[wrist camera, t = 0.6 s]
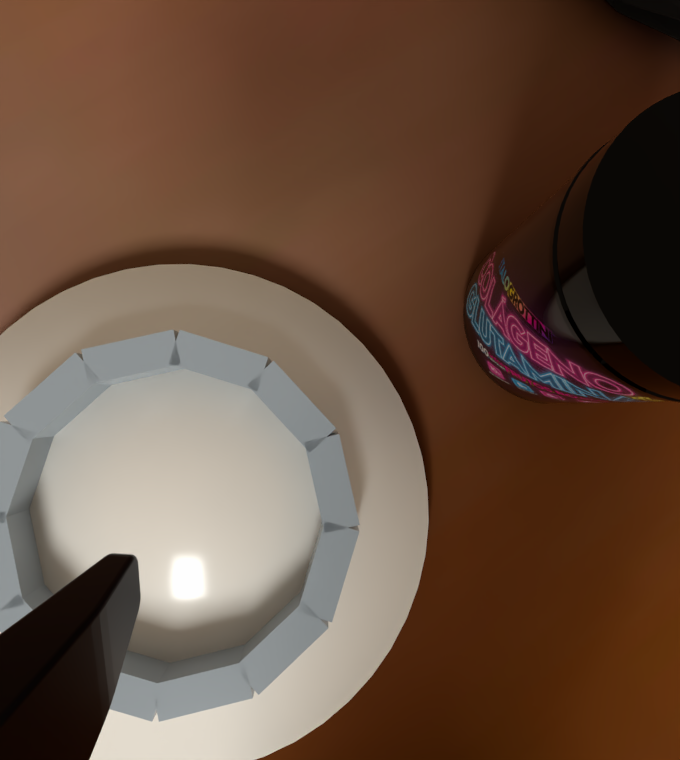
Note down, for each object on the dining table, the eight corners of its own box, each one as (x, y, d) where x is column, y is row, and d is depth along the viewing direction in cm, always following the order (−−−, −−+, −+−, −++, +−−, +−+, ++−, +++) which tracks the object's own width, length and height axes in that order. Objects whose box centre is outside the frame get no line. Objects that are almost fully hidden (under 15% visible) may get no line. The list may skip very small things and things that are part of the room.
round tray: (471, 689, 21) (492, 727, 19) (-11, 813, 20) (-57, 869, 18) (364, 226, 22) (370, 203, 20) (-106, 326, 21) (-162, 315, 19)
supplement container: (457, 230, 22) (580, 74, 12) (627, 235, 22) (894, 87, 12) (456, 403, 22) (581, 399, 11) (628, 406, 22) (904, 406, 12)
